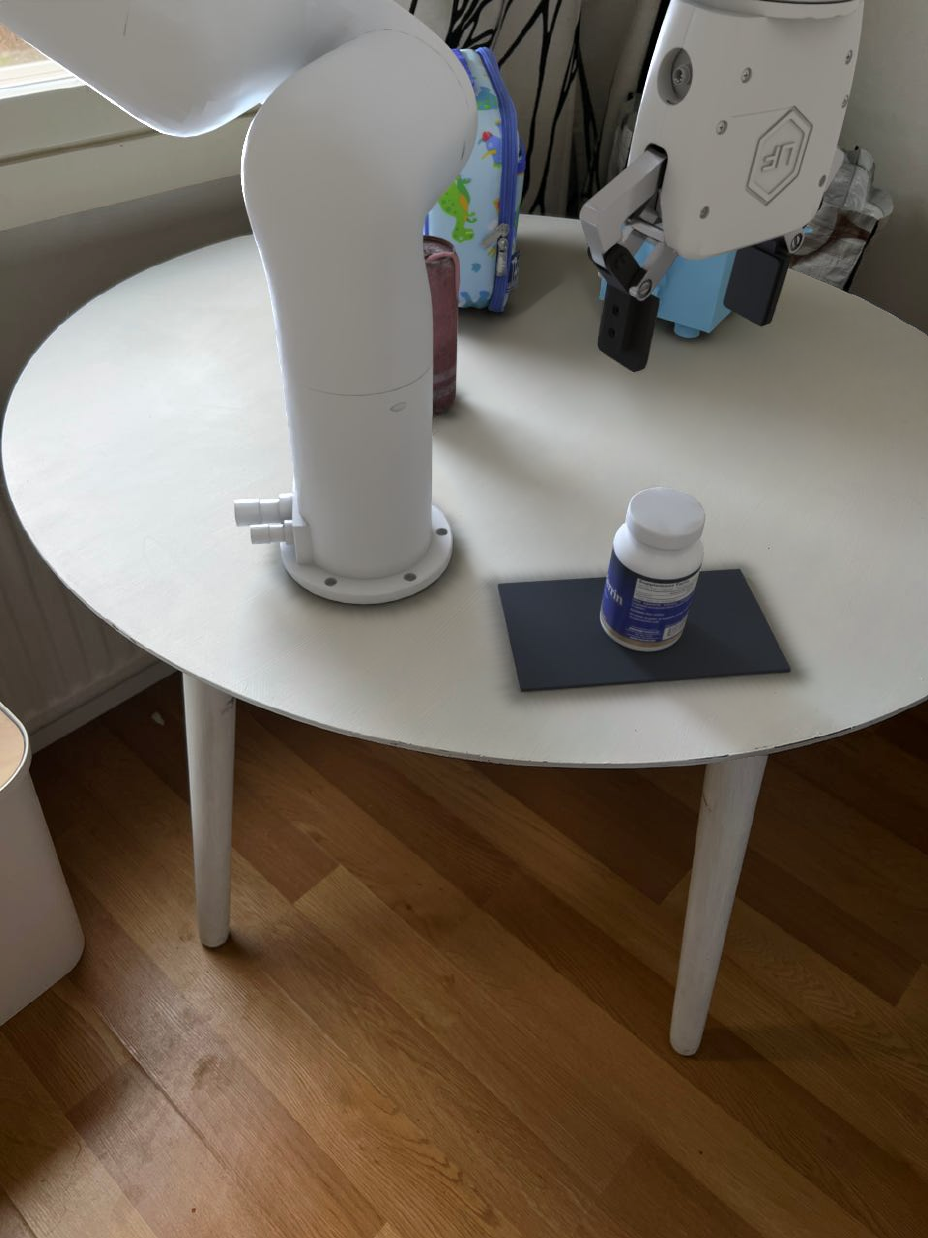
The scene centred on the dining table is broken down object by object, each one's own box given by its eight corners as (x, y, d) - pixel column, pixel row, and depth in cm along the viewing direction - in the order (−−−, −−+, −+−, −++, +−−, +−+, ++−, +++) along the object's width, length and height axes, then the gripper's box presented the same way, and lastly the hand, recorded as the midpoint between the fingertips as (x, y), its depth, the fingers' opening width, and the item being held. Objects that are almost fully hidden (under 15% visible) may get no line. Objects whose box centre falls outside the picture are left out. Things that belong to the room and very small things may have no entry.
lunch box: (521, 329, 93) (540, 101, 78) (415, 332, 92) (414, 100, 77) (488, 227, 111) (498, 26, 97) (399, 228, 110) (396, 25, 96)
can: (450, 424, 80) (454, 267, 70) (380, 414, 81) (374, 258, 71) (464, 389, 84) (469, 236, 75) (397, 380, 85) (394, 228, 75)
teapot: (585, 322, 95) (602, 192, 86) (650, 271, 104) (671, 149, 95) (751, 376, 88) (789, 241, 79) (804, 315, 97) (843, 188, 88)
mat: (521, 692, 58) (521, 689, 58) (497, 586, 65) (497, 583, 65) (790, 672, 60) (791, 668, 60) (739, 571, 67) (740, 568, 67)
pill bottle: (595, 594, 65) (616, 478, 58) (676, 598, 65) (707, 482, 58) (601, 653, 61) (625, 536, 54) (688, 657, 61) (722, 541, 54)
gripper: (695, -7, 32) (615, 414, 44) (973, -39, 40) (840, 327, 52) (559, -48, 36) (519, 347, 49) (834, -70, 44) (741, 276, 56)
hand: (685, 336), depth 50 cm, fingers open, 9 cm apart
